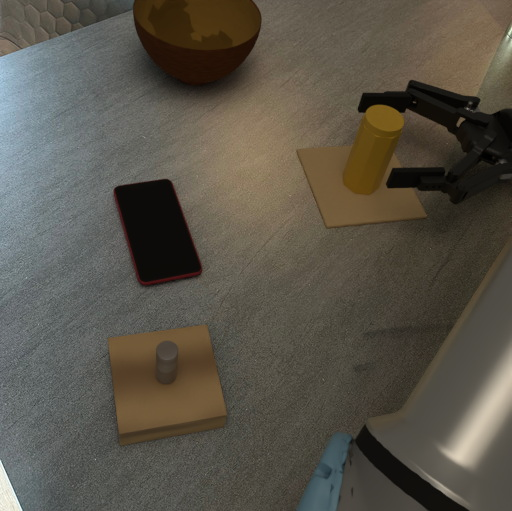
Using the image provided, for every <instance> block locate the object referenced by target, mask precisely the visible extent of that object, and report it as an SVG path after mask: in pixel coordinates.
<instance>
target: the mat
mask: <svg viewBox="0 0 512 511" xmlns="http://www.w3.org/2000/svg"><path fill="white" fill-rule="evenodd" d="M352 146H353V144H350V145H349V144H347V145H334V146H319V147H305V148H304V147H303V148H296V150H295V151H296V154H297V156H298V159H299V163H300V164H301V167H302V170H303V172H304V175H305V177H306V180H307V182H308V185H309V188H310V189H311V193H312V194H313V197H314V200H315V203H316V205H317V208H318V210H319V212H320V215H321V218H322V220H323V223H324V226H325V228H326V229H333V228H344V227H345V228H346V227H353V226H354V227H355V226H363V225H373V224H382V223H393V222H401V221H403V222H404V221H412V220H420V219H421V220H422V219H427V218H428V215H427V213H426V211H425V209H424V207H423V205H422V203H421V201H420V198H419V197H418V195H417V194H416V192H415V189H414V188H387V186H386V182H387V180H388V177H389V175H390V173H391V170H392V168H403V166H402V165H401V163H400V161H399V158H398V157H397V155H396V153H395V152H394V153H393V156H392V158H391V160H390V163H389V165H388V167H387V170H386V172H385V174H384V177H383V179H382V182H381V184H380V186H379V189H377V190H376V191H374V192H373V193H371V194H370V195H364V194H356V193H354V192H352V191H351V190H350V189H349V188H347V187H346V186H345V185H344V183H343V172H344V169H345V166H346V163H347V160H348V157H349V154H350V152H351V149H352Z"/></svg>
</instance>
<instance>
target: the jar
mask: <svg viewBox="0 0 512 511" xmlns="http://www.w3.org/2000/svg"><path fill="white" fill-rule="evenodd" d="M404 125H405V118H404V116H403V114H402V113H399V112H398V111H397V110H396V109H394V108H392V107H389V106H386V105H374V106H371V107H369V108H368V109H367V110H366V113H364V115H362V117H361V120H360V123H359V126H358V128H357V132H356V135H355V138H354V140H353V143H352V145H353V146H352V149H351V152H350V154H349V157H348V160H347V163H346V166H345V169H344V172H343V183H344V185H345V186H346V187H347V188H349V189H350V190H351V191H352V192H354V193H356V194H364V195H370V194H371V193H373V192H374V191H376V190H377V189H379V186H380V184H381V182H382V179H383V177H384V174H385V172H386V170H387V167H388V165H389V163H390V160H391V158H392V156H393V153H395V151H396V148H397V146H398V144H399V141H400V138H401V136H402V134H403V129H404Z"/></svg>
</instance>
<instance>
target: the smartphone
mask: <svg viewBox="0 0 512 511" xmlns="http://www.w3.org/2000/svg"><path fill="white" fill-rule="evenodd" d="M112 193H113V196H114V200H115V203H116V204H115V205H116V208H117V210H118V214H119V218H120V221H121V225H122V229H123V232H124V236H125V239H126V243H127V246H128V250H129V253H130V256H131V261H132V264H133V267H134V271H135V275H136V278H137V281H138V283H139V284H140V285H142V286H152V285H157V284H163V283H168V282H172V281H177V280H183V279H188V278H191V277H197V276H199V275H200V274H202V272H203V265H202V262H201V259H200V256H199V254H198V250H197V248H196V245H195V242H194V239H193V236H192V234H191V231H190V228H189V225H188V222H187V220H186V217H185V214H184V211H183V209H182V205H181V202H180V200H179V197H178V195H177V192H176V189H175V186H174V183H173V181H172V180H171V179H168V178H161V179H154V180H145V181H139V182H134V183H126V184H120V185H116V186H115V187H114V188H113V192H112Z"/></svg>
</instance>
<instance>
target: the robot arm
mask: <svg viewBox="0 0 512 511" xmlns="http://www.w3.org/2000/svg"><path fill="white" fill-rule="evenodd" d="M480 103H481V98H480V97H478V96H476V95H463V94H461V93H457V92H453V91H451V90H447V89H444V88H441V87H438V86H434V85H431V84H427V83H425V82H422V81H419V80H415V79H410V80H409V81H408V83H407V85H406V88H405V90H391V91H390V90H386V91H383V92H362V94H361V97H360V100H359V102H358V105H357V112H358V114H365V113H366V110H367V109H368V108H369V107H371V106H374V105H386V106H389V107H392V108H394V109H396V110H397V111H398V112H399V113H401V114H405V113H406V110H409V111H411V112H413V113H414V114H417V115H419V116H421V117H423V118H425V119H428V120H430V121H431V122H434V123H436V124H438V125H440V126H442V127H444V128H446V129H447V132H448V133H449V134H451V135H453V136H455V138H456V140H457V141H458V143H460V148H461V150H462V152H463V153H466V155H465V156H463V158H461V159H460V161H458V163H456V165H455V166H453V167H452V168H449V170H448V172H447V171H446V168H445V167H444V166H429V167H427V166H424V167H419V166H418V167H415V166H414V167H402V168H392V170H391V173H390V175H389V177H388V180H387V182H386V186H387V188H413V189H416V190H417V191H420V192H441V193H443V194H446V195H447V196H449V197H450V198H449V202H450V203H451V204H452V205H455V206H457V205H459V204H461V203H463V202H465V201H467V200H469V199H470V198H473V197H474V196H476V195H478V194H479V193H482V192H483V191H486V190H488V189H489V188H491V187H493V186H495V185H503V184H508V183H509V182H510V180H511V179H512V107H511V108H510V107H508V108H507V107H506V108H502V109H499V110H497V111H495V112H493V113H491V114H490V113H485V112H483V111H480V110H481V109H480V108H479V104H480ZM461 118H462V119H464V120H462V121H461V122H460V123H459V121H460V119H461ZM458 123H459V126H458ZM481 162H484V163H486V164H488V165H491V166H490V167H488V168H487V169H484V170H482V171H480V172H478V173H476V174H474V175H472V176H471V177H469V178H467V179H465V180H463V179H464V178H465V177H466V176H467V175H468V174H469V173H470V172H471V171H472V170H474V169H475V168H476V167H477V166H478V165H479V163H481ZM446 173H447V174H446ZM445 174H446V175H445ZM295 511H512V233H511V234H510V236H509V238H508V239H507V240H506V242H505V244H503V247H502V248H501V250H500V252H499V254H498V255H497V257H496V258H495V260H494V261H493V263H492V264H491V266H490V268H489V269H488V271H487V272H486V274H485V275H484V277H483V279H482V280H481V282H480V284H478V287H477V288H476V290H475V291H474V292H473V295H472V296H471V298H470V299H469V301H468V302H467V304H466V306H465V307H464V309H463V310H462V312H461V314H460V315H459V317H458V318H457V320H456V322H455V323H454V325H453V327H452V328H451V330H450V331H449V333H448V334H447V336H446V338H445V339H444V341H443V342H442V344H441V346H440V347H439V348H438V350H437V352H436V353H435V355H434V356H433V358H432V360H431V362H430V363H429V364H428V366H427V368H426V369H425V371H424V373H423V374H422V375H421V377H420V379H419V381H417V383H416V385H415V387H414V388H413V390H412V392H411V393H410V395H409V396H408V398H407V400H406V401H405V403H404V404H403V406H402V407H401V408H400V409H399V410H397V411H395V412H392V413H386V414H382V415H377V416H371V417H368V419H367V420H366V421H365V423H364V425H363V426H362V427H361V429H360V431H359V432H358V434H357V435H356V437H355V438H354V436H353V435H352V434H350V432H346V433H344V432H341V431H336V432H334V433H333V434H332V436H331V437H330V439H329V440H328V442H327V444H326V446H325V448H324V450H323V452H322V454H321V456H320V459H319V460H318V462H317V465H316V467H315V469H314V471H313V473H312V475H311V477H310V479H309V481H308V483H307V485H306V487H305V489H304V492H303V493H302V496H301V498H300V500H299V502H298V504H297V506H296V509H295Z"/></svg>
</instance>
